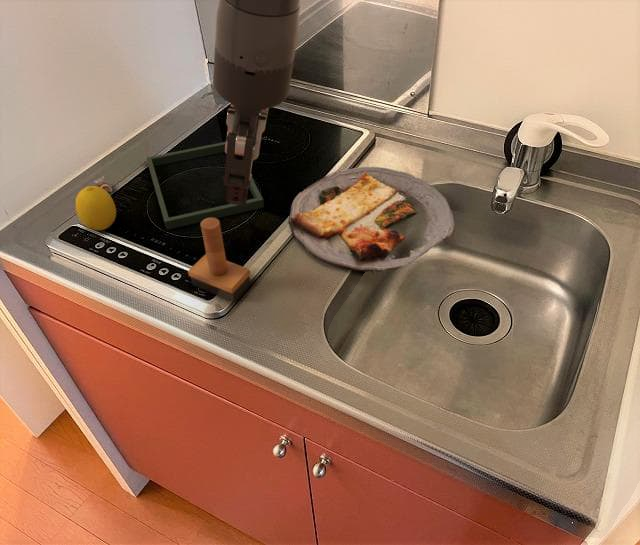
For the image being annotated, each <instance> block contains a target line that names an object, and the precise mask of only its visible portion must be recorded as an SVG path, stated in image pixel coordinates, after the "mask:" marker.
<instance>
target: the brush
mask: <svg viewBox="0 0 640 545" xmlns="http://www.w3.org/2000/svg"><path fill="white" fill-rule="evenodd" d="M200 230H201V235H202V239H203V240H202V241H203V244H204V248H205V249H204V250H205V254H204V255H202V256H201V258H199V260H198V261H197V262H196V263H194V264H193V265H192V266H191V267H190V268H189V269H188V270H187V274H188V277H190V281H191V285H192V286H194V287H196V288H198V289H201V290H203V291H206V292H209V293H211V294H213V295H216V296H219V297H221V298H223V299H226V300H228V301H231V302H232V303H233V302H236V301H237V299H238V298H239V297H240V296H241V295H242V294H243V292H244V291H245V290H246V289H247V288H249V286H250V285H251V277H250V275H251V270H250V268H247V267H245V266H242V265H239V264H237V263H234V262H231V261H229V260H227V256H226V251H225V250H226V249H225V245H224V239H223V233H222V228H221V221H220V220H219V218H206V219H204V220H203V221H202V222H200Z"/></svg>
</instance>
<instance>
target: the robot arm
mask: <svg viewBox="0 0 640 545" xmlns="http://www.w3.org/2000/svg"><path fill="white" fill-rule="evenodd" d="M218 1H219V2H218V7H217V11H216V19H215V35H214V36H215V37H214V54H213V55H214V56H213V76H212V83H213V87H214V90H215V91H216V93H217V95H219V96H220V97H221V98H222V99H224V100H225V101H227V103H230V108H228V109H227V113H226V114H227V115H226V121H225V124H226V126H227V132H226V139H225V142H226V146H225V152H224V153H225V154H226V156H225V168H224V175H223V176H222V177H223V178H222V181H223V185H224V186H226V194H225V195H226V197H225V201H226V203H228V204H236V205H245V204H246V201H247V200H248V192H249V186H250V179H251V178H253V174H252V169H253V162H254V160H257V159H258V158H259V155H260V149H261V148H260V147H261V143H262V137H263V136H262V134H263V133H264V132H265V130H266V125H267V119H268V115H269V109H272V108H274V107H277V106H279V105H281V104H282V103H283V102H285V100H286V99H287V98H288V95H289V91H290V87H291V81H292V75H293V68H294V63H295V62H294V61H295V57H296V50H297V45H298V39H299V38H298V37H299V31H300V11H301V10H300V9H301V2H302V0H218Z"/></svg>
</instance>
